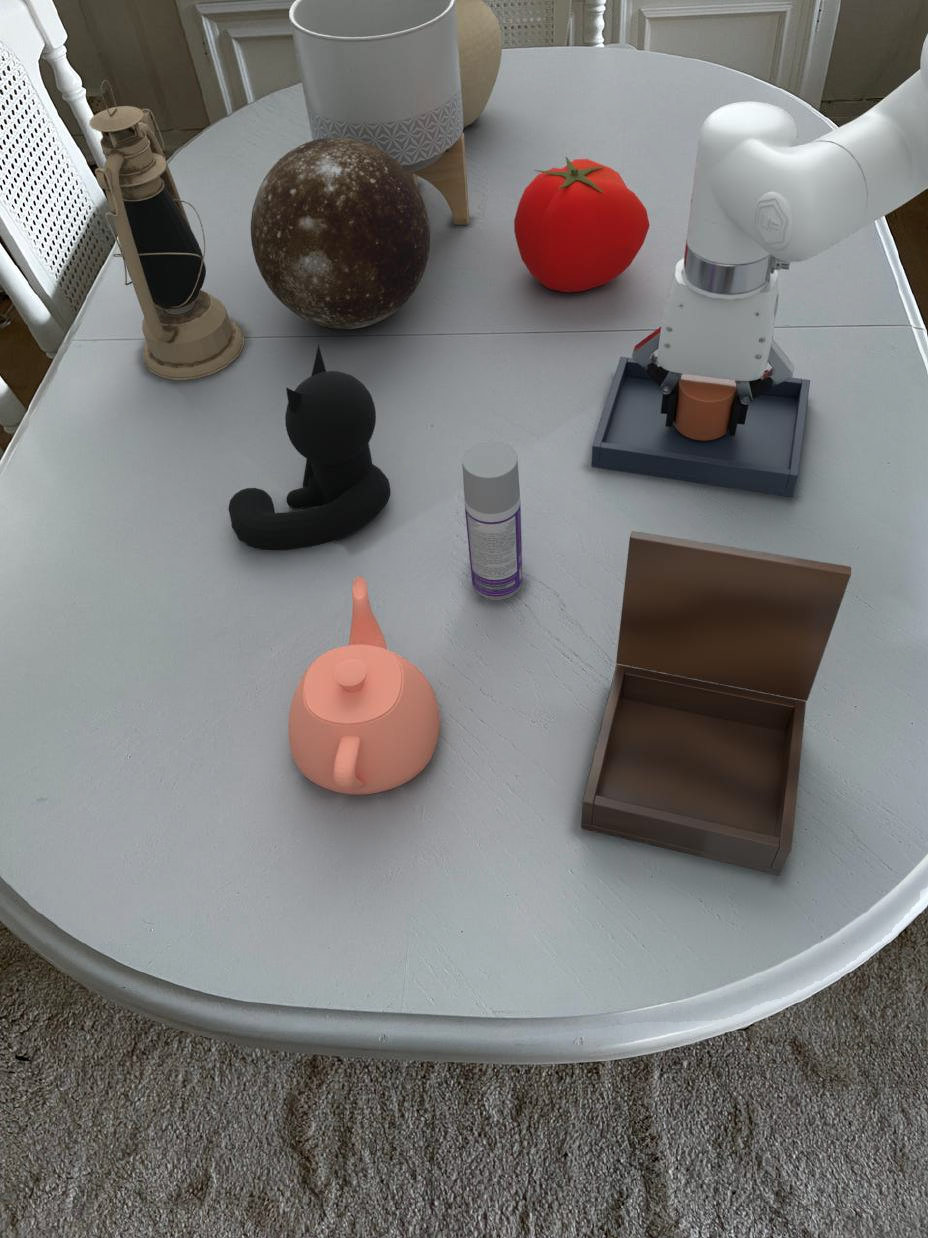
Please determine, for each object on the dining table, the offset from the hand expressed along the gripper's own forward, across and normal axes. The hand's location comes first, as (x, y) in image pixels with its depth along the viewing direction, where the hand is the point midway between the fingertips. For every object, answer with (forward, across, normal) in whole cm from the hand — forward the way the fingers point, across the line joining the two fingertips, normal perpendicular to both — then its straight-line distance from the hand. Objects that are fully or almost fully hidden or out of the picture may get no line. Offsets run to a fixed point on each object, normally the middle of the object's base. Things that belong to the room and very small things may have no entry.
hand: (702, 421), depth 98 cm
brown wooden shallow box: (+2, -5, +40) cm, 40 cm away
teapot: (+2, +21, +42) cm, 47 cm away
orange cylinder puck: (0, 0, 0) cm, 0 cm away
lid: (-10, -5, +34) cm, 35 cm away
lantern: (+2, +60, -3) cm, 60 cm away
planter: (+2, +45, -34) cm, 56 cm away
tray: (+2, 0, 0) cm, 2 cm away
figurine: (+2, +35, +19) cm, 40 cm away
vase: (+2, +46, -62) cm, 78 cm away
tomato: (+2, +18, -25) cm, 31 cm away
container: (+2, +15, +24) cm, 28 cm away
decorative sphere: (+2, +43, -13) cm, 45 cm away
